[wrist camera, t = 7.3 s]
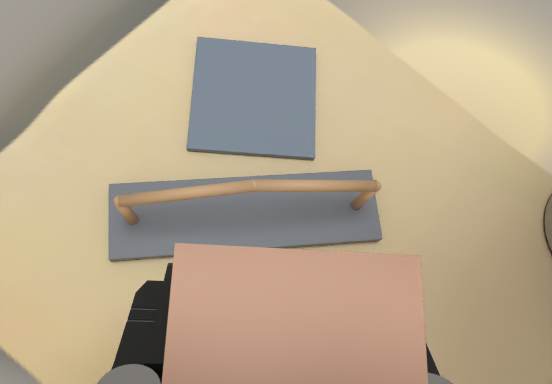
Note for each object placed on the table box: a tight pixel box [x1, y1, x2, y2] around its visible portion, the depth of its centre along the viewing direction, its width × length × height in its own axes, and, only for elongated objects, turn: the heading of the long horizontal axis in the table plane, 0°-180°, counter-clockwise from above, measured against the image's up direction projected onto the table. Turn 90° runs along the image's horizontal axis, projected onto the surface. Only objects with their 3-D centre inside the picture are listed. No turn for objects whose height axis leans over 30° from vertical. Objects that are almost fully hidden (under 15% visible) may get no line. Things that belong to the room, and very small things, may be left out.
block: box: [162, 243, 428, 384], centre depth 13 cm, size 4×4×10 cm
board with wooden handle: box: [109, 170, 382, 262], centre depth 30 cm, size 5×18×7 cm, turn 96°
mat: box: [187, 37, 316, 160], centre depth 35 cm, size 9×9×1 cm
